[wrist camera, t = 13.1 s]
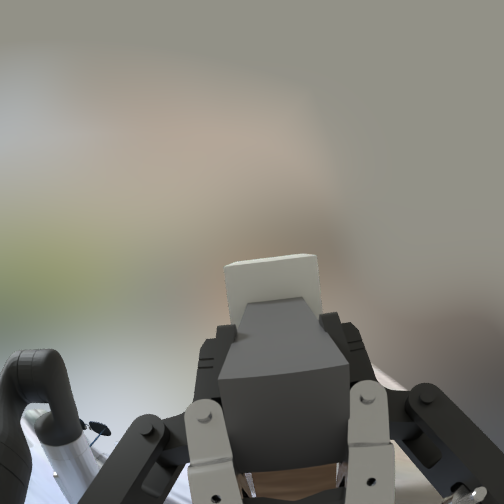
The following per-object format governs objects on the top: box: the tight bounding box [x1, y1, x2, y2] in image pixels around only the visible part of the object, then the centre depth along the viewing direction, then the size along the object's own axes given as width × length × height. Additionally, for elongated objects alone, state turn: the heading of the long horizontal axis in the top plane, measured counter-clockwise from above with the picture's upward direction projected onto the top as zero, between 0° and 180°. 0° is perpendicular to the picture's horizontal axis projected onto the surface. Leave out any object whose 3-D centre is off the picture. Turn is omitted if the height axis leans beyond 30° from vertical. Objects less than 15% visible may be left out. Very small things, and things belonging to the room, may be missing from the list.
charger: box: [218, 254, 350, 473], centre depth 17 cm, size 20×6×6 cm, turn 177°
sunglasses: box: [41, 419, 111, 447], centre depth 59 cm, size 17×15×5 cm
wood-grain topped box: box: [252, 463, 336, 501], centre depth 36 cm, size 14×10×31 cm
